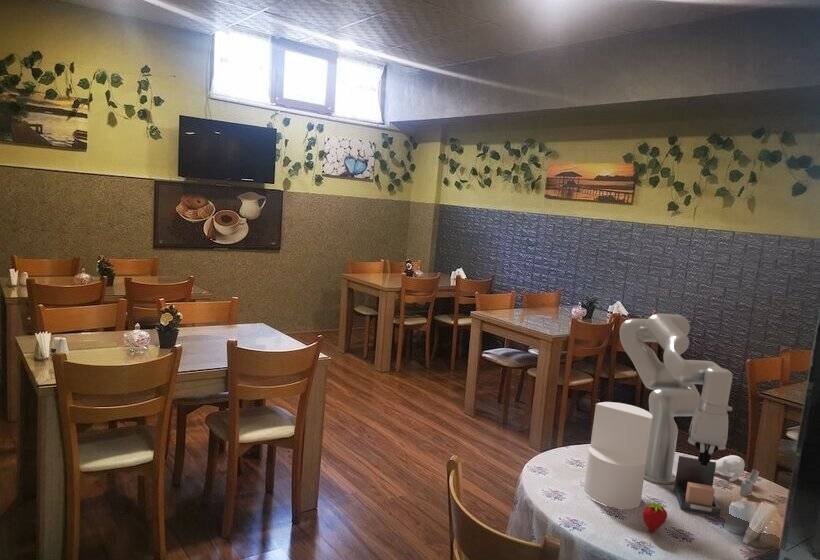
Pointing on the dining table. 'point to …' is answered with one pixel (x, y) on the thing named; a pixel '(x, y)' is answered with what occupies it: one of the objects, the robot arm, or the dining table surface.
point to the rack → (696, 474)
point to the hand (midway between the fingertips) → (703, 463)
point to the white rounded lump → (730, 466)
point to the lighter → (749, 483)
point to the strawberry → (654, 516)
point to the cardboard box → (699, 494)
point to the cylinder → (618, 454)
